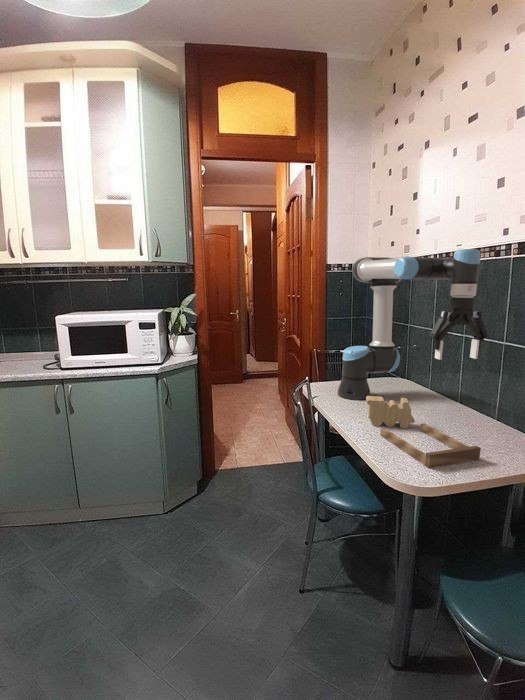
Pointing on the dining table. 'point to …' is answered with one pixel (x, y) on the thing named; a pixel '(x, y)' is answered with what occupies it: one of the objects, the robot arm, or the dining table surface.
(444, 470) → the dining table surface
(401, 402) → the toy train
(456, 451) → the frame
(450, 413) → the dining table surface
